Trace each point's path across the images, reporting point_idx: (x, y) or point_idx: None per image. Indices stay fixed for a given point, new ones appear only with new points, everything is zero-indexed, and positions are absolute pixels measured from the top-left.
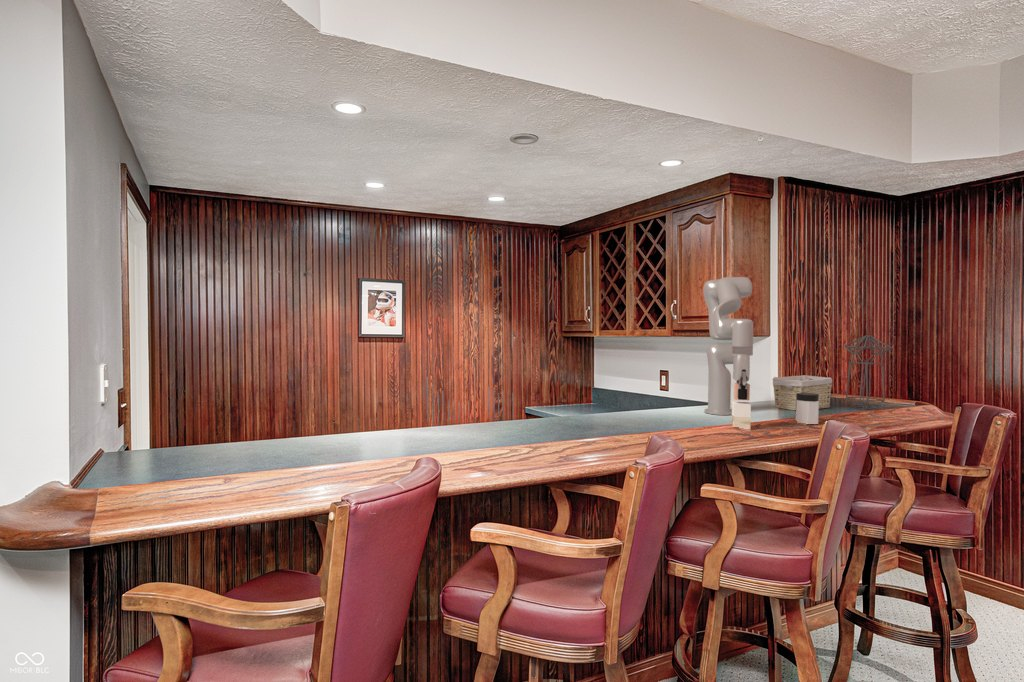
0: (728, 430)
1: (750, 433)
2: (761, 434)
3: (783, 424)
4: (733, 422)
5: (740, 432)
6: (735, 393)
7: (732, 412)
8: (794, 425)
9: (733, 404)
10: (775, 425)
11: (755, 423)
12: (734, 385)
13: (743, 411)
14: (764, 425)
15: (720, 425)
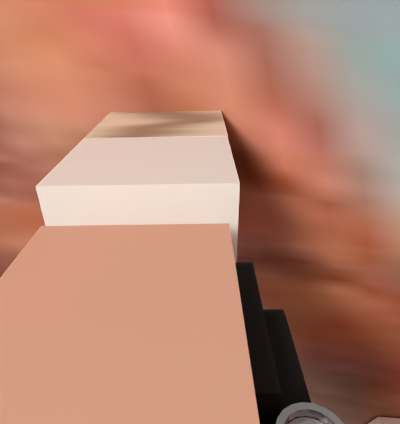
0: (56, 70)
1: (14, 197)
2: (13, 248)
3: (344, 371)
4: (113, 123)
5: (17, 144)
6: (15, 284)
7: (179, 143)
8: (322, 401)
9: (98, 178)
10: (311, 340)
11: (364, 265)
12: (141, 409)
13: None
14: (303, 297)
15: (255, 28)
